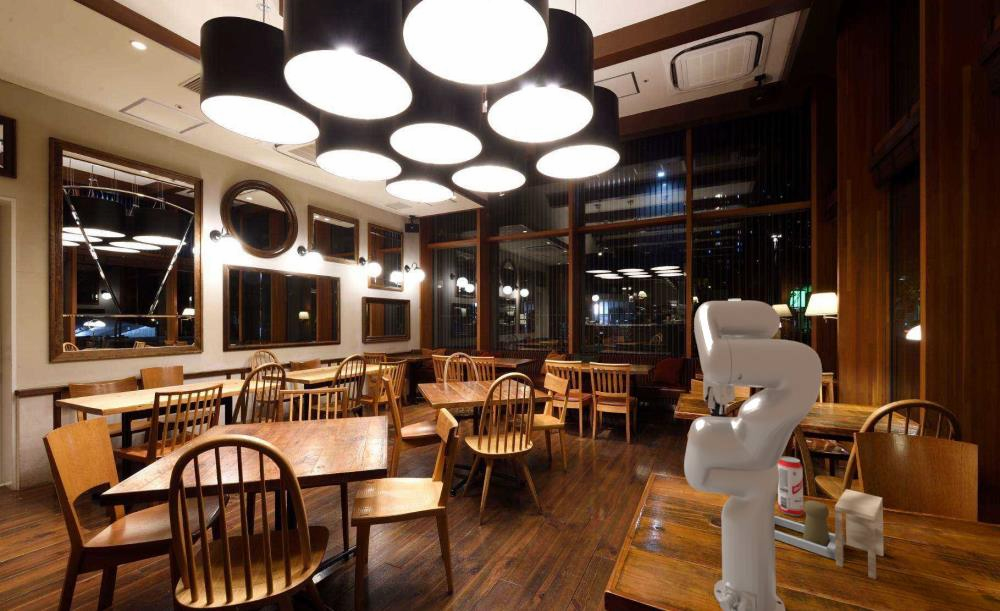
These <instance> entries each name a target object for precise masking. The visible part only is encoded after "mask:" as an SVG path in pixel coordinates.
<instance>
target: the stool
mask: <svg viewBox="0 0 1000 611" xmlns="http://www.w3.org/2000/svg"><path fill="white" fill-rule="evenodd" d="M883 509H884V508H883V497H882V496H881V497H880V496H877V495H873V494H869V493H865V492H860V491H855V490H852V489H848V488H846V489H845V490H844V492H843V493H842V494H841V495H840V497H839V499H838V500H837V502H836V504H835V505H834V525H835V526H834V527H835V528H834V529H835V533H834V534H835V538H836V560H835V566H838V567H840V568H844V546H843V537H844V532H843V531H844V528H843V525H844V524H843V513H844V514H845V532H846V533H845V539H846V541H845V542H846V544H845V545H846V546H850V547H853V548H855V549H859V550H862V551H865V552H867V566H868V568H867V569H868V570H867V571H868V574H867V575H868V578H871V579H874V580H876V579H877V558H876V557H877V556H880V557H884V552H885V551H884V518H883V517H884V516H883V515H884V514H883V513H884V512H883Z"/></svg>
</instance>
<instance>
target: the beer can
mask: <svg viewBox="0 0 1000 611" xmlns="http://www.w3.org/2000/svg"><path fill="white" fill-rule="evenodd" d="M777 466H778V469H779V485H778V490H777V508H778V509H779V511H780V512H781V513H782V514H784V515H787V516H791V517H800V516H803V514H804V487H803V486H804V484H803V483H804V482H803V481H804V480H803V478H804V477H803V466H802V463H801V460H800V459H799V458H796V457H794V456H793V457H792V456H787V455H786V456H784V455H782V456H781V458H780V460H779V461H778V463H777Z"/></svg>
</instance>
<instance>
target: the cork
mask: <svg viewBox="0 0 1000 611" xmlns="http://www.w3.org/2000/svg"><path fill="white" fill-rule="evenodd" d="M803 512H805V519H804V520H805V521H804V525H805V526H804V533H803V535H802V539H803V540H806V541H809V542H812V543H815V544H818V545H821V546H824V547H827V546H828V544H829V543H830V538H829V533H830V532H829V527H828V522H827V519H828V516H829V514H830V512H829V508H828V506H827V504H826V505H825V503H823V502H821V501H817V500H806V501H805V502H803Z"/></svg>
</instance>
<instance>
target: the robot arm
mask: <svg viewBox="0 0 1000 611" xmlns="http://www.w3.org/2000/svg"><path fill="white" fill-rule="evenodd" d="M693 325H694V326H693V328H694V337H695V342H696V345H697V351H698V356H699V362H700V366H701V371H702V374H703V381H702V386H703V388H702V394H703V395H702V396H703V401H704V402H705V403H707V408H708V409H709V410H710V416H708V415H707V416H700V417H697V418H696V419H694V420H693V421H692V423H691V425H690V428H689V431H688V438H687V443H686V449H685V454H684V460H683V461H684V463H683V467H684V468H683V470H684V476H685V479H686V481H687V483H688V484H689V486H690V487H691V488H692V489H694V490H695V491H698V492H703V493H710V494H717V495H726V496H727V495H728V496H729V498H727V500H726V501H725V503H724V505H723V507H722V510H721V519H720V520H721V569H722V571H721V572H722V573H721V576H722V577H721V578H722V579H720V580H717V581H716V583H715V584H714V588H713V589H714V590H713V591H714V597H715V598H716V601H718V603H719V606H720V609H721V610H722V611H786V607H785V604H784V601H783V600H782V599H781V598H780V597H779V596H778V595H777V593H776V592H777V591H776V590H777V589H776V588H777V586H776V539H775V530H776V529H775V526H776V524H775V516H776V515H775V514H776V503H777V497H778V485H779V469H778V466H777V464H778V461H779V460H780V458H781V456H783V453H784V452H785V449H786V447H787V445H788V444H789V443H788V442H789V440H790V439H791V436H792V434H793V431H794V430H795V429H796V427H797V426H798V425H799V424H800V423H801V422H802V421H803V419H805V417H806V416H807V415H808V414H809V413H810V411H811V409H813V407H814V405H815V404H816V402H817V399H818V397H819V394H820V391H821V388H822V382H823V381H822V380H823V368H822V366H823V365H822V362H821V358H820V357H819V353H817V352H816V350H814V349H813V348H812V347H810V345H808V344H805V343H802V342H800V341H799V342H798V341H795V340H788V339H777V338H773V337H775V335H776V334H777V333H778V331H779V329H780V325H781V319H780V316H779V314H778V312H777V311H776V310H775V308H774V307H772V306H771V305H770V304H768V303H766V302H764V301H760V300H759V301H758V300H710V301H706V302H703V303H702V304H701V305H700V306H698V308H697V310H696V312H695V316H694V322H693ZM736 387H745V388H747V387H748V388H763V389H762V390H760V391H758V392H756V393H754V394H753V395H751V396H749V397H748V398H747V399H746V400H745V401H744V402H743V403H742V404H741V406H740V407H739V409H738V410H739V411H738V413H737V416H733V417H732V416H728V417H727V404H729V403H732V402H733V401H735V399H736V395H735V394H736V393H735V392H736V391H735V388H736Z"/></svg>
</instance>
